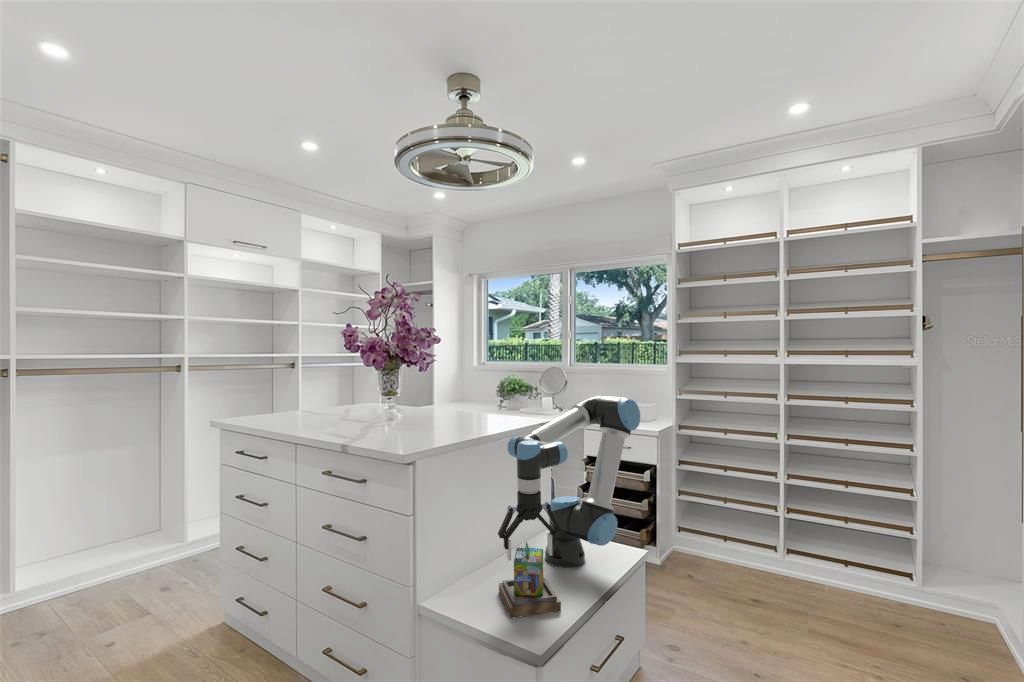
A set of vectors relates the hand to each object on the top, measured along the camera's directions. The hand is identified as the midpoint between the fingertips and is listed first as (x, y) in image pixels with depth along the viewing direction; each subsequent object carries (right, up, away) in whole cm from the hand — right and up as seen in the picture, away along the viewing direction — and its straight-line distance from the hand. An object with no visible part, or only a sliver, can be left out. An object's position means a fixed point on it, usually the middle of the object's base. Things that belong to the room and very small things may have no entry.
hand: (529, 556), depth 160 cm
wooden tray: (0, -14, 0) cm, 14 cm away
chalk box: (0, -11, +1) cm, 11 cm away
